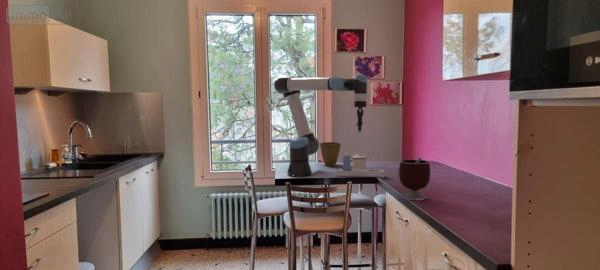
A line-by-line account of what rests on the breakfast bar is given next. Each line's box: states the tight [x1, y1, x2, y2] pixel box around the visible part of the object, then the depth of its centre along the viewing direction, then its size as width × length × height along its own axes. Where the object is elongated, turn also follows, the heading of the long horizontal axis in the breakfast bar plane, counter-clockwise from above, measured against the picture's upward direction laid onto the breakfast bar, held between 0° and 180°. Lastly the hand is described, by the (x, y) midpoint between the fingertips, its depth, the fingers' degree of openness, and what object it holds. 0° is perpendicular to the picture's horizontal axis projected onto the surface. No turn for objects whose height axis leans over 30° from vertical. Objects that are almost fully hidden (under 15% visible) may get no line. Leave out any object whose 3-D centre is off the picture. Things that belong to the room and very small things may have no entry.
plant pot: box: [319, 141, 342, 167], centre depth 269 cm, size 15×15×16 cm
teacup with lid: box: [350, 152, 367, 169], centre depth 246 cm, size 12×9×12 cm
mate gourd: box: [398, 157, 431, 201], centre depth 173 cm, size 16×14×20 cm
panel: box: [335, 167, 385, 180], centre depth 226 cm, size 28×9×4 cm, turn 78°
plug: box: [342, 152, 352, 171], centre depth 227 cm, size 4×4×13 cm
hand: (359, 135), depth 231 cm, fingers open, 13 cm apart
